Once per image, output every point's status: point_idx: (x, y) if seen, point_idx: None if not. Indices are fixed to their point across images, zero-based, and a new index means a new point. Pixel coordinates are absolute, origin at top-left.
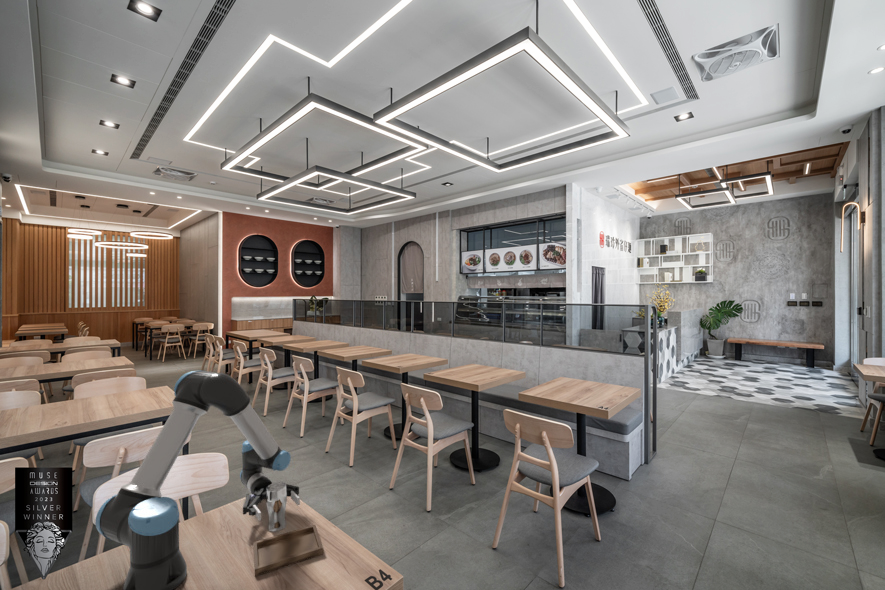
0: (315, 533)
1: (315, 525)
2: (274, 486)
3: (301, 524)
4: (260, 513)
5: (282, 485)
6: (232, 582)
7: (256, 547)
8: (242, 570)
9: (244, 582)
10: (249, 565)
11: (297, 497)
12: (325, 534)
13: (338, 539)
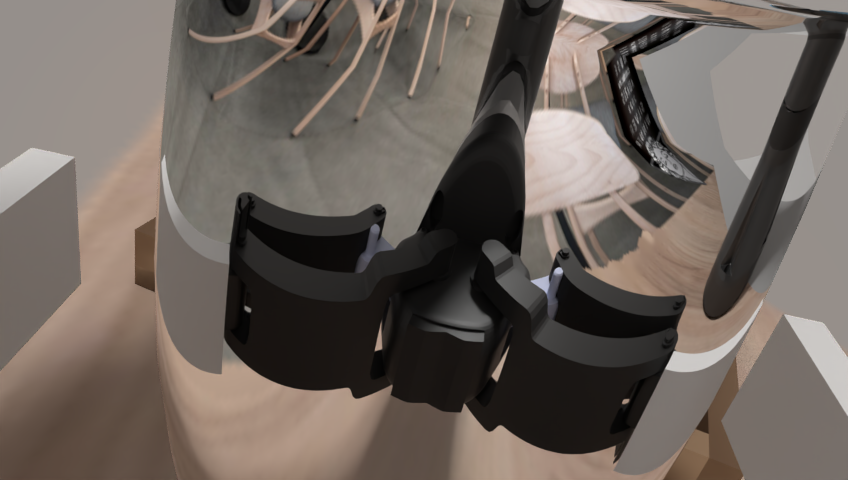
0: None
1: (150, 222)
2: (453, 158)
3: (103, 448)
4: (786, 328)
5: (202, 11)
6: (843, 348)
7: None
8: None
9: (766, 303)
10: (743, 380)
11: (49, 167)
12: (144, 214)
13: (152, 149)
